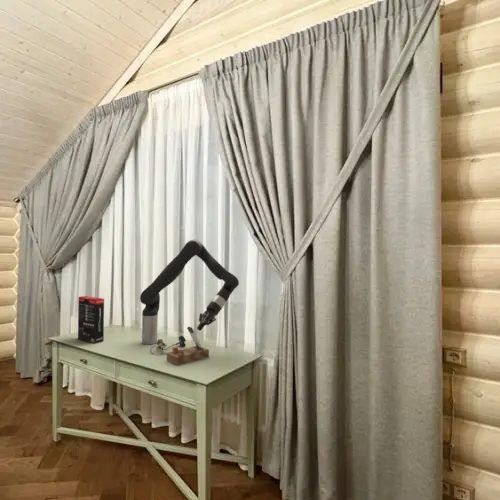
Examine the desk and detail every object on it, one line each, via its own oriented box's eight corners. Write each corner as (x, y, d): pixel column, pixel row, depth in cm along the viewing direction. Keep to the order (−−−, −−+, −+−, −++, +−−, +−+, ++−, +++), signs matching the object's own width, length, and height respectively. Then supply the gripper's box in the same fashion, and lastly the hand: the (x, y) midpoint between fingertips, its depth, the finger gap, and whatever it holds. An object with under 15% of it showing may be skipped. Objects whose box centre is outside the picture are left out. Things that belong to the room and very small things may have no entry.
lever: (197, 348, 185) (198, 346, 186) (200, 349, 183) (202, 347, 184) (187, 328, 180) (188, 326, 181) (190, 329, 178) (191, 327, 179)
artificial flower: (188, 349, 200) (189, 335, 197) (154, 362, 184) (155, 346, 181) (180, 342, 206) (181, 328, 203) (146, 354, 190) (147, 339, 187)
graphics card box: (104, 341, 209) (105, 297, 209) (94, 344, 203) (95, 299, 203) (86, 337, 217) (87, 295, 217) (76, 339, 211) (77, 296, 211)
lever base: (197, 352, 190) (197, 341, 190) (208, 356, 183) (208, 344, 183) (166, 360, 175) (166, 347, 175) (177, 365, 168) (177, 352, 168)
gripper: (205, 299, 195) (187, 323, 186) (220, 302, 186) (202, 327, 177) (212, 307, 199) (195, 331, 190) (227, 310, 190) (209, 336, 181)
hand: (198, 329), depth 184 cm, fingers closed
